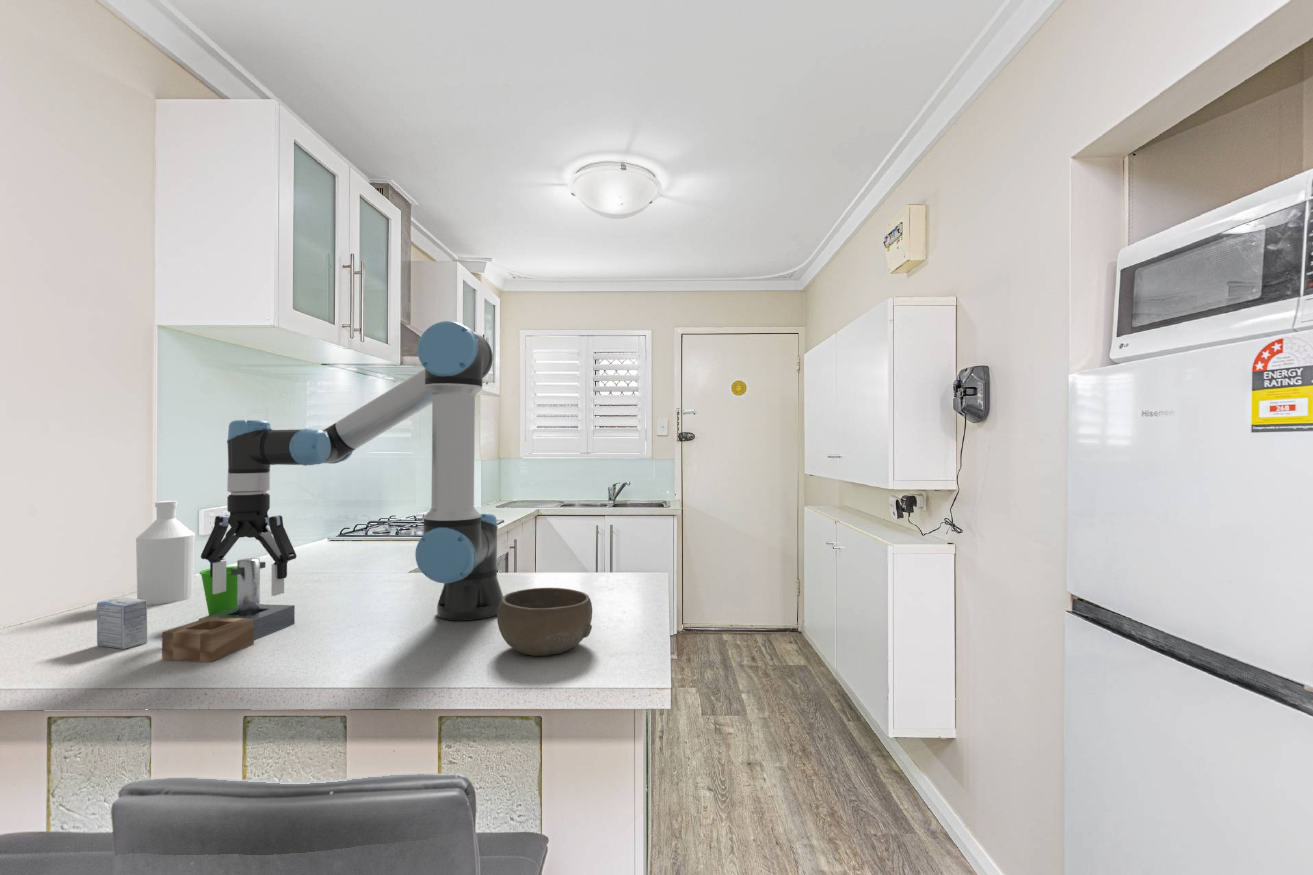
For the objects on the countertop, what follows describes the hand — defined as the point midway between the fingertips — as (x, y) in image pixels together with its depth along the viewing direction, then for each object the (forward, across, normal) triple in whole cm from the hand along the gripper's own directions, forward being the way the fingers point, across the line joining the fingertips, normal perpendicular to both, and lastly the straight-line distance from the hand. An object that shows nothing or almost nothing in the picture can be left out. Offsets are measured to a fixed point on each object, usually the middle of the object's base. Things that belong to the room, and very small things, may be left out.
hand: (248, 593), depth 131 cm
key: (+8, 0, 0) cm, 8 cm away
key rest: (+8, -3, +13) cm, 15 cm away
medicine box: (+8, +18, +11) cm, 23 cm away
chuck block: (+8, 0, 0) cm, 8 cm away
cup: (+8, +13, -8) cm, 17 cm away
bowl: (+8, -66, +4) cm, 67 cm away
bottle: (+8, +43, -23) cm, 49 cm away
